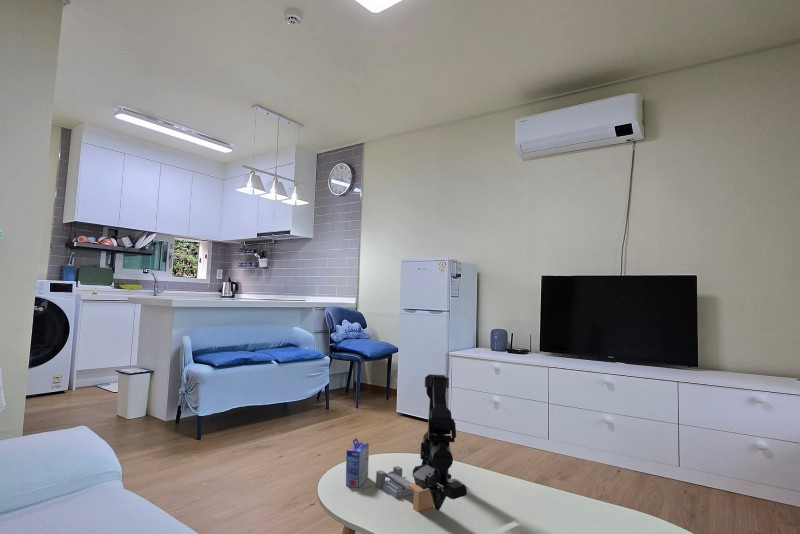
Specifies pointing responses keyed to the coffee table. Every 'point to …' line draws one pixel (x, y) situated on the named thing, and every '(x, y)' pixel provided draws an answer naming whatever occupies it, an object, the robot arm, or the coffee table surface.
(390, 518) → the coffee table surface
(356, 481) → the ink cartridge box
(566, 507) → the coffee table surface
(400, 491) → the board
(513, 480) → the coffee table surface
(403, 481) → the strap
